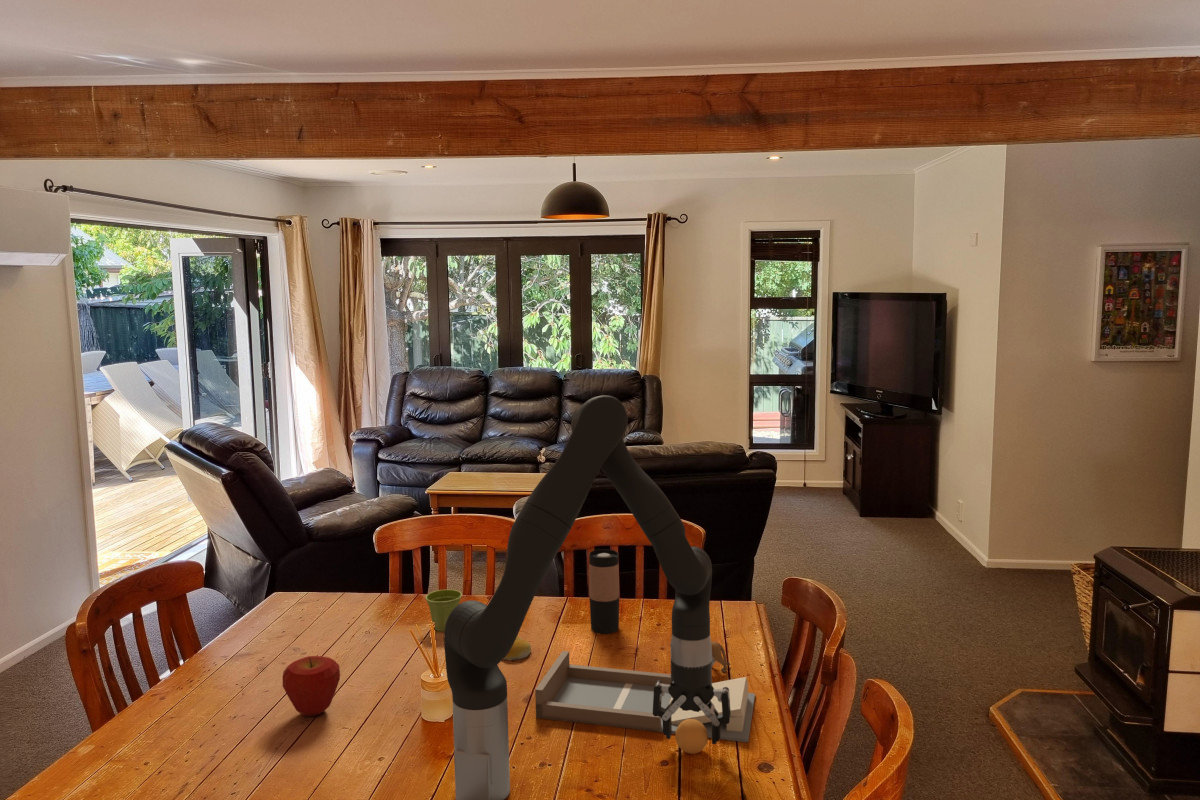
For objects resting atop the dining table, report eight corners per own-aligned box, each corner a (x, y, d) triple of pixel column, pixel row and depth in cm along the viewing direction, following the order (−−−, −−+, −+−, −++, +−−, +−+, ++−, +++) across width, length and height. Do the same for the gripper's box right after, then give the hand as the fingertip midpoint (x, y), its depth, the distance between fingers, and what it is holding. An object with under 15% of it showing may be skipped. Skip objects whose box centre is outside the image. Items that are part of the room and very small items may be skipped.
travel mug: (585, 626, 214) (583, 551, 211) (611, 621, 217) (610, 547, 215) (597, 636, 207) (596, 559, 205) (624, 631, 210) (623, 555, 208)
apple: (282, 730, 163) (278, 672, 162) (287, 705, 174) (284, 650, 172) (341, 722, 166) (337, 665, 165) (342, 697, 177) (339, 643, 175)
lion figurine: (675, 681, 182) (675, 642, 181) (666, 671, 187) (666, 633, 186) (735, 671, 187) (735, 633, 186) (724, 661, 192) (724, 624, 191)
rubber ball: (705, 762, 150) (705, 730, 149) (673, 758, 151) (672, 727, 151) (709, 744, 156) (709, 714, 155) (678, 741, 157) (678, 711, 156)
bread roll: (510, 664, 192) (509, 648, 192) (489, 652, 199) (488, 637, 198) (538, 654, 197) (538, 638, 197) (517, 643, 204) (516, 627, 204)
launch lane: (754, 699, 175) (755, 669, 174) (748, 746, 156) (748, 712, 156) (563, 679, 185) (562, 650, 184) (536, 721, 167) (535, 689, 166)
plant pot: (419, 632, 211) (418, 600, 210) (437, 619, 220) (436, 587, 219) (452, 636, 209) (451, 603, 208) (469, 622, 218) (468, 590, 217)
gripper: (649, 662, 150) (650, 745, 152) (728, 669, 146) (728, 754, 148) (656, 645, 157) (657, 725, 159) (731, 651, 153) (731, 733, 155)
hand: (691, 739), depth 154 cm, fingers open, 8 cm apart
